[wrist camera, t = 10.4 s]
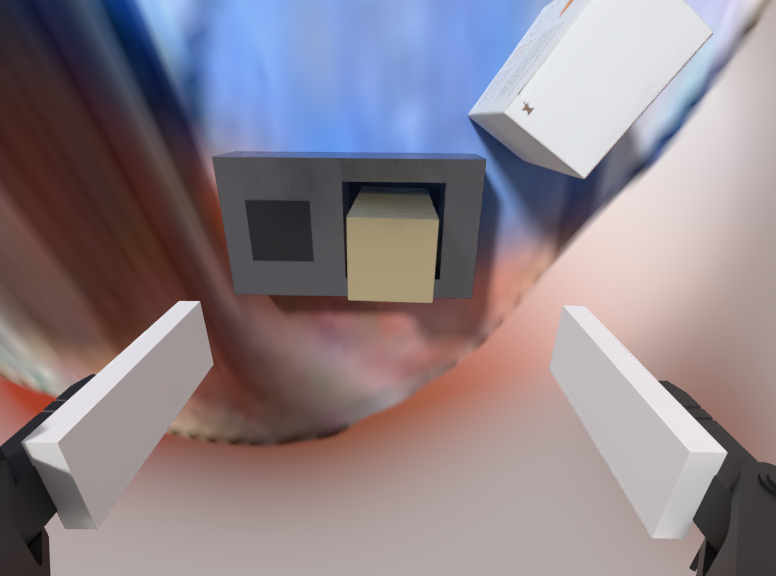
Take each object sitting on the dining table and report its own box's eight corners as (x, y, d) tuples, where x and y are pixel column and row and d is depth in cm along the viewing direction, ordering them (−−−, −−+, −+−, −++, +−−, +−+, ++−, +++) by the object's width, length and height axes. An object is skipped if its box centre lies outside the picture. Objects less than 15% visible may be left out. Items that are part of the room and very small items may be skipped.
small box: (522, 161, 29) (583, 185, 20) (464, 114, 28) (498, 115, 18) (604, 61, 27) (721, 31, 17) (544, 4, 25) (633, -64, 16)
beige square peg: (361, 247, 32) (347, 300, 23) (361, 185, 30) (345, 217, 21) (423, 249, 32) (433, 303, 23) (427, 187, 30) (439, 219, 21)
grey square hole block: (252, 274, 34) (234, 294, 30) (235, 151, 29) (211, 157, 26) (463, 278, 33) (472, 299, 29) (475, 153, 29) (486, 159, 25)
